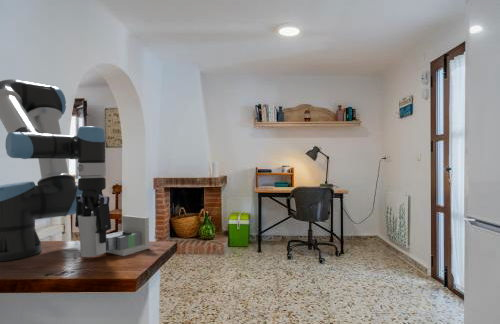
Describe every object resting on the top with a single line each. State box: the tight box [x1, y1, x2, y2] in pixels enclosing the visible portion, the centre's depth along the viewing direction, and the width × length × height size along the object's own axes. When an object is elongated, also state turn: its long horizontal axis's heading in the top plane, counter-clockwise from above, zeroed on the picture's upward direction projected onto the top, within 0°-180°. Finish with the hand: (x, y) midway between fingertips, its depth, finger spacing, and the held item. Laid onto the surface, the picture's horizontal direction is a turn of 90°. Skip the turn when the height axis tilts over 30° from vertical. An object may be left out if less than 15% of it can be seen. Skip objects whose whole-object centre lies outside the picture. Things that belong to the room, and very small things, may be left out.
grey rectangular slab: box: [106, 231, 132, 251], centre depth 100 cm, size 8×8×5 cm
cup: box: [78, 212, 105, 258], centre depth 94 cm, size 8×8×12 cm
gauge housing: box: [106, 214, 150, 257], centre depth 104 cm, size 12×10×10 cm
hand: (92, 251), depth 94 cm, fingers closed on cup, 7 cm apart
